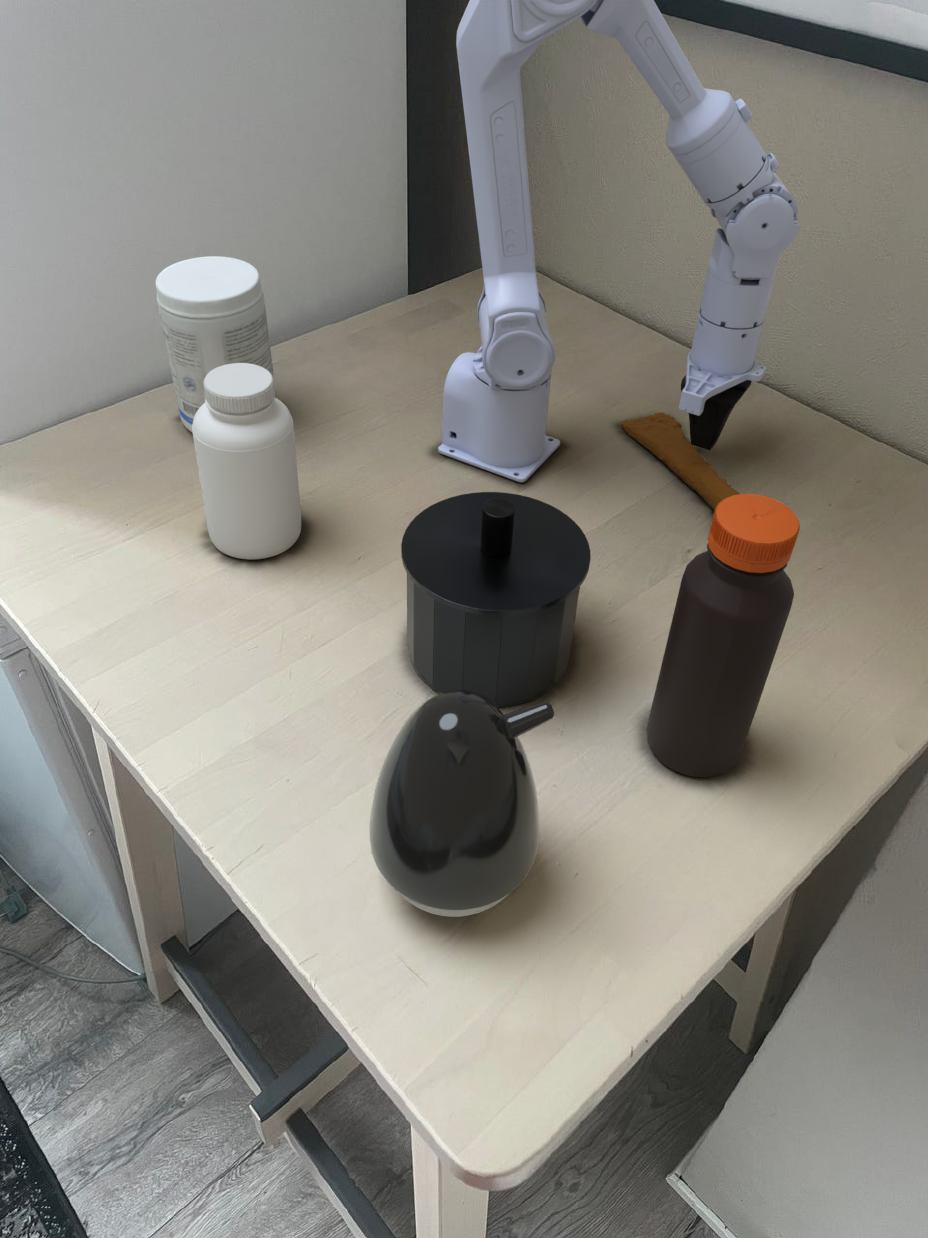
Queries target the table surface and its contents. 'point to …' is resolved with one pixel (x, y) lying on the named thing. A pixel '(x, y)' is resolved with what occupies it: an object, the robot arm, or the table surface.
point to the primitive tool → (679, 455)
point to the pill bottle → (247, 463)
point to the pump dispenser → (457, 804)
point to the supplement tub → (210, 323)
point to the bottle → (723, 637)
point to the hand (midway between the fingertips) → (702, 445)
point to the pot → (489, 648)
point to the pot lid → (495, 554)
